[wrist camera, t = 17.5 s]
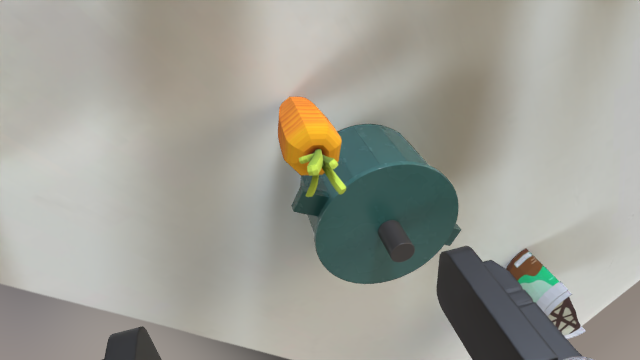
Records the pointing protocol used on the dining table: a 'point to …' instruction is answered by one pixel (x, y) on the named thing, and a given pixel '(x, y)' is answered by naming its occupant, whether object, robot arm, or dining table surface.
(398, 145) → the pot
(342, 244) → the pot lid
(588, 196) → the dining table surface
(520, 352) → the robot arm
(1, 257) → the dining table surface
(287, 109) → the carrot
